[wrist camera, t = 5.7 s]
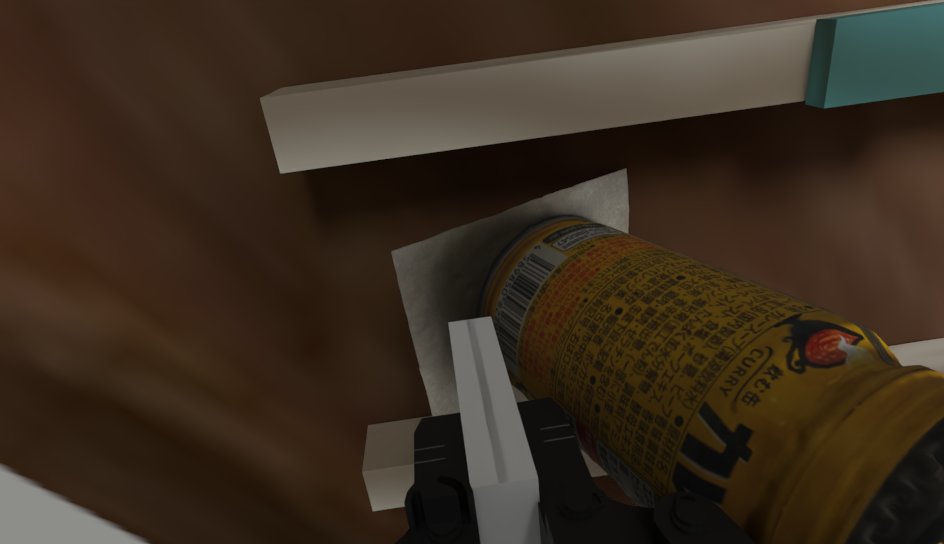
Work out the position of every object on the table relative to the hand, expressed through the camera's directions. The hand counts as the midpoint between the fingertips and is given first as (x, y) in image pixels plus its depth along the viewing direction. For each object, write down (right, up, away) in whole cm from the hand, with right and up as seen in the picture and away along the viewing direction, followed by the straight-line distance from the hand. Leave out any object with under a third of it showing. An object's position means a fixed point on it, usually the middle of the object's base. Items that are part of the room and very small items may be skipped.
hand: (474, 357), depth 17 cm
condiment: (+2, +2, +2) cm, 3 cm away
